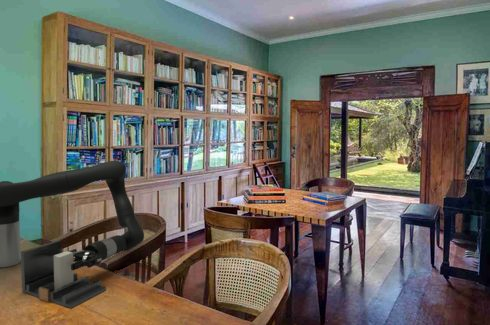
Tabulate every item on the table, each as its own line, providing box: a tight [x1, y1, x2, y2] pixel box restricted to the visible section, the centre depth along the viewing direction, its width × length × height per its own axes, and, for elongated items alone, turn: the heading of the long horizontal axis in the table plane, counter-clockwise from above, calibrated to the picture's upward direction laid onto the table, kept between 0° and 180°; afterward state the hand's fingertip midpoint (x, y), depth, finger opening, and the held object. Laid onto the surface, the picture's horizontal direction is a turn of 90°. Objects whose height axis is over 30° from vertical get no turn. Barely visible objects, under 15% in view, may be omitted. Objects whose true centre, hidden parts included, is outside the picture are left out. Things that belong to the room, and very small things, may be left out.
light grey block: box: [54, 250, 74, 290], centre depth 119 cm, size 3×5×12 cm, turn 155°
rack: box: [20, 239, 107, 309], centre depth 119 cm, size 23×15×14 cm, turn 65°
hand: (62, 265), depth 119 cm, fingers open, 8 cm apart
